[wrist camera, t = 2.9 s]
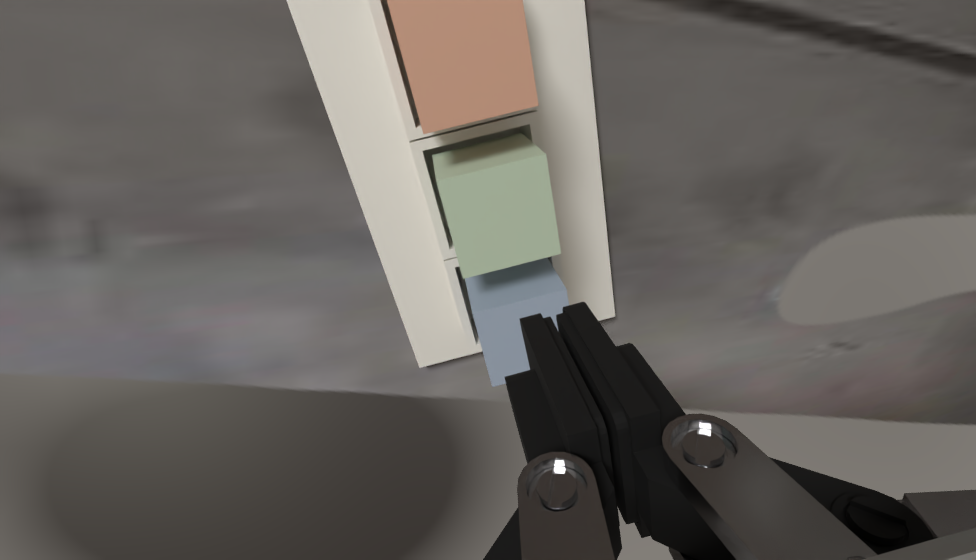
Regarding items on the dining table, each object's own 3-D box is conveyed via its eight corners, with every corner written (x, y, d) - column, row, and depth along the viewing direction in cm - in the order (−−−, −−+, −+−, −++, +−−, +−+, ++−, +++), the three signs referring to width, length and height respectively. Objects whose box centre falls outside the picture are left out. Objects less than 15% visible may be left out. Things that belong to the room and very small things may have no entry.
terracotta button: (494, -18, 20) (517, -34, 16) (514, 92, 22) (538, 105, 18) (392, 7, 20) (386, -2, 16) (421, 116, 22) (423, 134, 18)
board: (566, -112, 22) (595, -141, 18) (609, 309, 33) (632, 341, 30) (275, -43, 22) (248, -59, 18) (419, 359, 33) (420, 397, 29)
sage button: (521, 132, 23) (546, 153, 19) (535, 217, 26) (561, 253, 21) (432, 154, 23) (436, 181, 19) (454, 237, 25) (462, 279, 21)
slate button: (541, 247, 26) (566, 289, 22) (552, 314, 29) (578, 364, 24) (462, 267, 26) (472, 313, 22) (480, 333, 28) (492, 386, 24)
